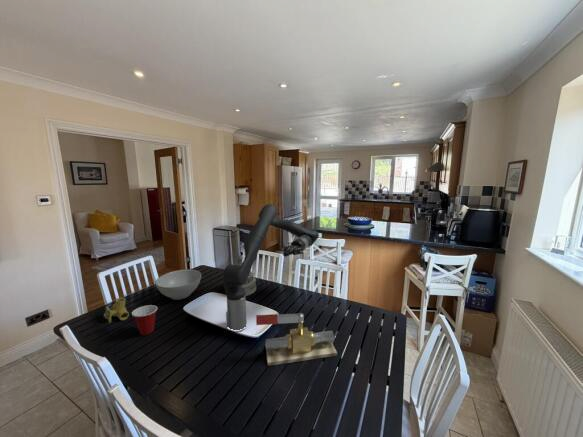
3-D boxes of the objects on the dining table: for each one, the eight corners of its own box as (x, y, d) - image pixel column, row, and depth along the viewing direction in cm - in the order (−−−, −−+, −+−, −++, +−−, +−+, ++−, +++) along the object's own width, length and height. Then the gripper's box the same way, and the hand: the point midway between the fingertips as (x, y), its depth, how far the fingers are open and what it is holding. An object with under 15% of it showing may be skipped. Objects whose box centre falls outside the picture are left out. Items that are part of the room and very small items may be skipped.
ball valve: (121, 311, 135) (100, 317, 127) (122, 294, 134) (100, 299, 126) (130, 320, 128) (108, 327, 120) (131, 302, 127) (109, 308, 119)
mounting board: (267, 365, 95) (267, 360, 95) (265, 345, 107) (265, 339, 106) (336, 355, 101) (337, 349, 100) (327, 336, 112) (327, 331, 112)
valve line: (267, 358, 97) (266, 331, 95) (265, 346, 104) (265, 320, 102) (334, 348, 103) (335, 322, 101) (329, 337, 110) (330, 313, 107)
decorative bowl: (188, 282, 170) (187, 266, 168) (210, 292, 155) (209, 275, 153) (149, 297, 149) (147, 279, 147) (170, 311, 134) (168, 292, 131)
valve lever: (303, 319, 103) (303, 312, 102) (304, 323, 100) (304, 316, 99) (256, 321, 101) (256, 314, 101) (256, 325, 98) (256, 318, 98)
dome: (233, 263, 140) (218, 254, 154) (235, 301, 144) (220, 289, 159) (261, 255, 153) (245, 248, 168) (262, 290, 158) (246, 280, 172)
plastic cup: (164, 326, 120) (162, 305, 118) (147, 340, 110) (144, 317, 108) (147, 323, 123) (145, 302, 121) (129, 336, 113) (125, 314, 110)
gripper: (289, 237, 135) (273, 245, 120) (310, 240, 129) (296, 249, 114) (289, 249, 137) (274, 259, 122) (310, 253, 131) (296, 264, 116)
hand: (285, 254), depth 118 cm, fingers closed
